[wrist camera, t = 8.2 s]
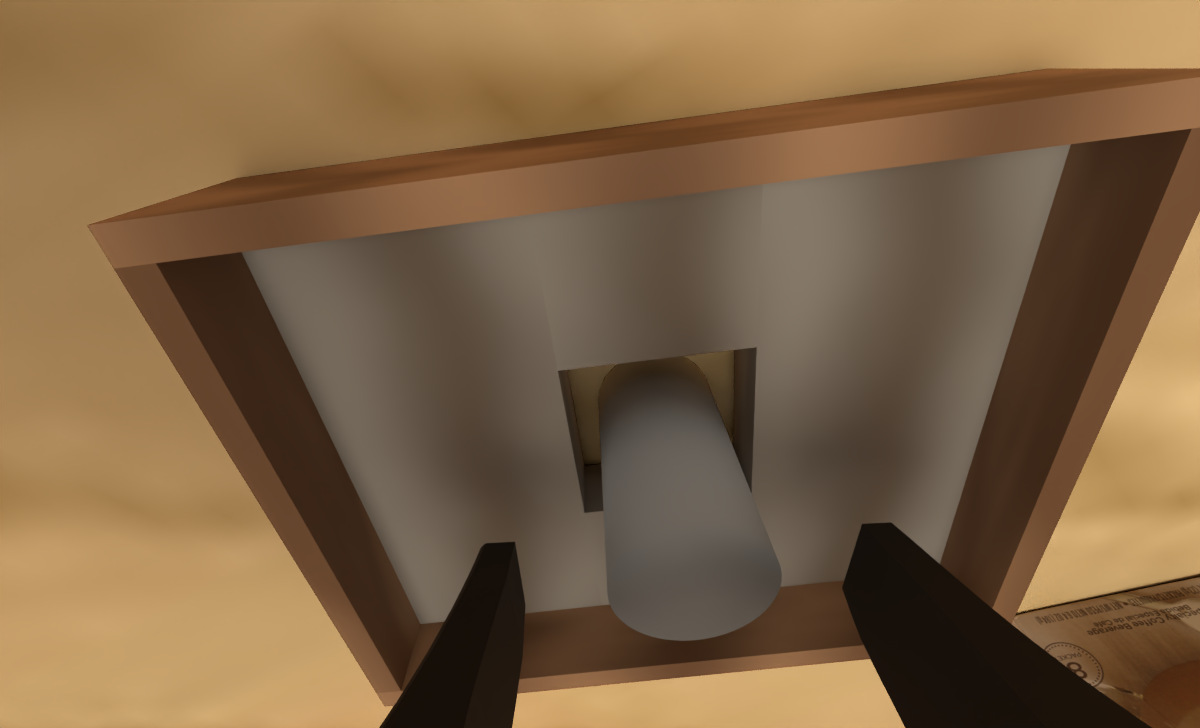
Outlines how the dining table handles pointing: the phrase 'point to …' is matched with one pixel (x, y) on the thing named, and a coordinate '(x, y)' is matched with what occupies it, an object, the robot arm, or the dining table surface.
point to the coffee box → (1131, 648)
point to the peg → (678, 508)
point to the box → (680, 344)
